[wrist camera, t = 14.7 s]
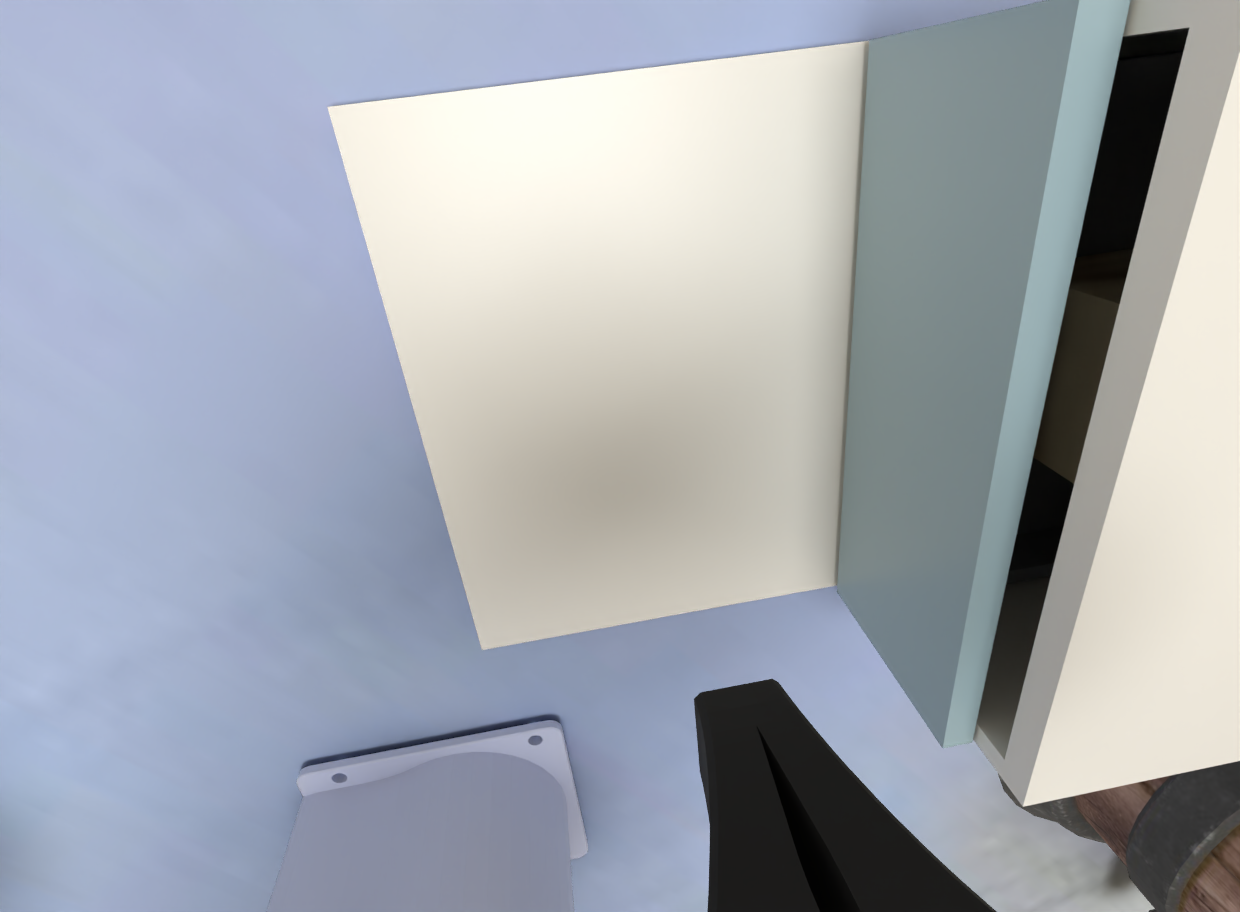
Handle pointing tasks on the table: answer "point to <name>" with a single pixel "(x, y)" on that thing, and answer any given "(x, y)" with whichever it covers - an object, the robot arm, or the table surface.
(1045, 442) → the birch block
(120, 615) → the table surface
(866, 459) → the teal drawer
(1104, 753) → the console box
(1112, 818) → the tankard
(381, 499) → the table surface
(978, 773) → the table surface
